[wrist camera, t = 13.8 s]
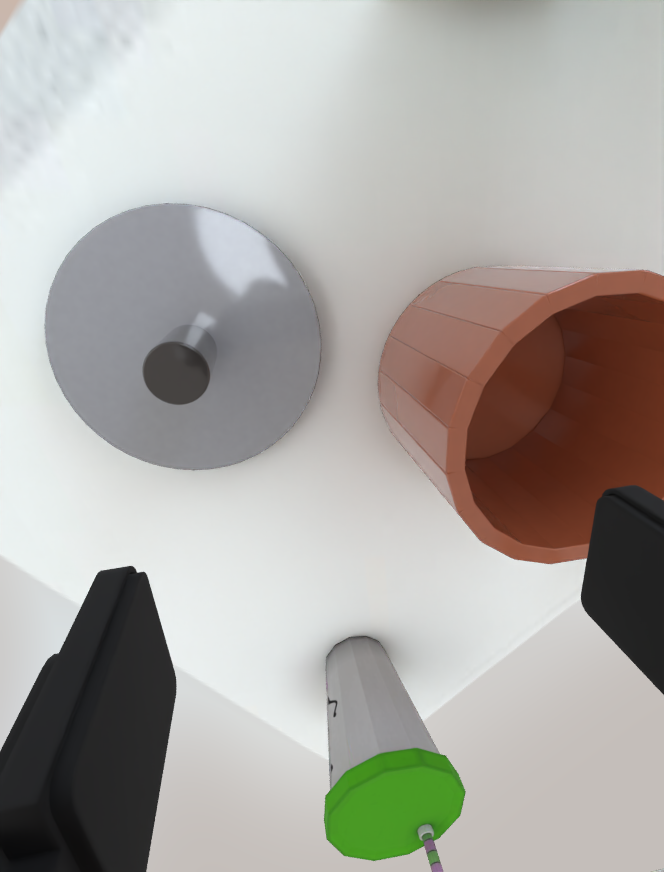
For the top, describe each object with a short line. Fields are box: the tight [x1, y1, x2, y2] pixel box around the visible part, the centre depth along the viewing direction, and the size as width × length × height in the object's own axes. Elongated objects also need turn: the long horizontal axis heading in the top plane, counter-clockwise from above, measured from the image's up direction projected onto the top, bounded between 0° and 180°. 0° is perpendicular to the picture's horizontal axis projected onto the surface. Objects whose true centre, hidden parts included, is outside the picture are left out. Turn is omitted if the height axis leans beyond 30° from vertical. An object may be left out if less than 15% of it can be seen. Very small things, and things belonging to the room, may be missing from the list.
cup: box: [324, 636, 465, 872], centre depth 27 cm, size 8×8×15 cm
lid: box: [45, 203, 321, 470], centre depth 21 cm, size 13×13×6 cm
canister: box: [378, 265, 664, 564], centre depth 23 cm, size 12×12×10 cm
